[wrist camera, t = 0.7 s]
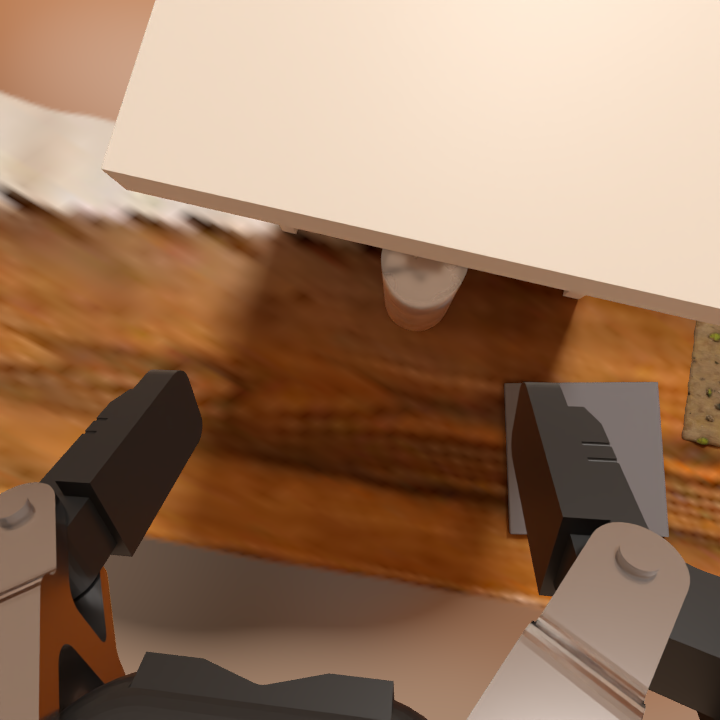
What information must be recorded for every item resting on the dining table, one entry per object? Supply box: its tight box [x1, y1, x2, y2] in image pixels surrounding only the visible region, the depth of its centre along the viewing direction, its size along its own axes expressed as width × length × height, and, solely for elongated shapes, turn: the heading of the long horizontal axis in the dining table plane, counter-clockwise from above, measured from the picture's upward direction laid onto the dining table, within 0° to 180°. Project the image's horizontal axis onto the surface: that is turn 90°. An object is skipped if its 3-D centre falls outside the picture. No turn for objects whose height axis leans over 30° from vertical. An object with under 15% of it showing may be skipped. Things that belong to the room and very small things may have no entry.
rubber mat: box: [504, 382, 669, 537], centre depth 34 cm, size 11×11×1 cm
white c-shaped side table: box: [101, 0, 720, 326], centre depth 26 cm, size 24×14×21 cm, turn 75°
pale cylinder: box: [381, 249, 468, 331], centre depth 31 cm, size 5×5×10 cm
